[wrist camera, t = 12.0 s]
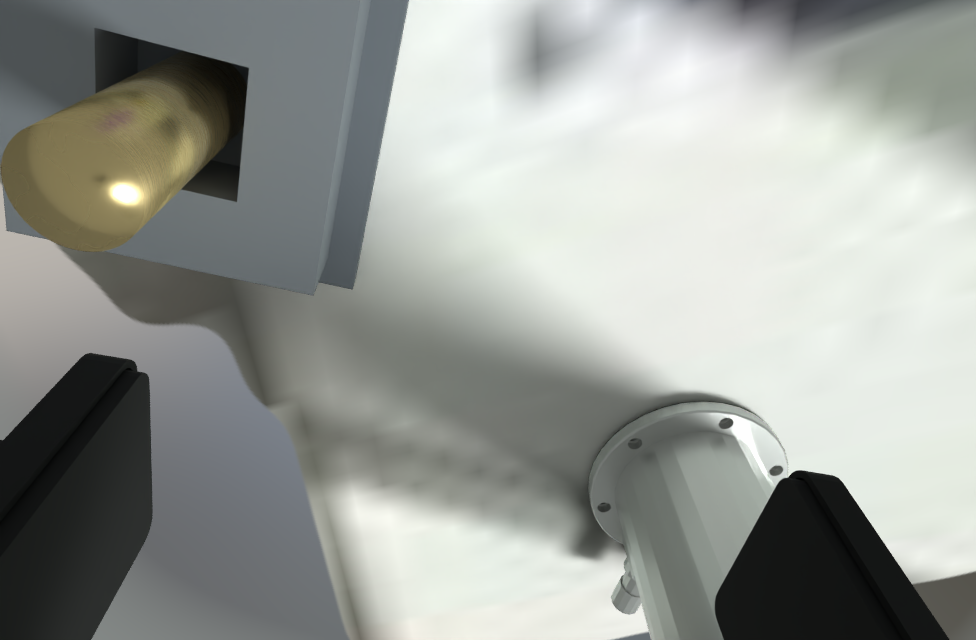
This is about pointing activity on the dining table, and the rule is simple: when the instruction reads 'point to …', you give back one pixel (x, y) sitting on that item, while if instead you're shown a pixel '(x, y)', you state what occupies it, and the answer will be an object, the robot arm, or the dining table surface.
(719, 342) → the dining table surface
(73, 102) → the socket fitting
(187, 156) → the pipe stub
